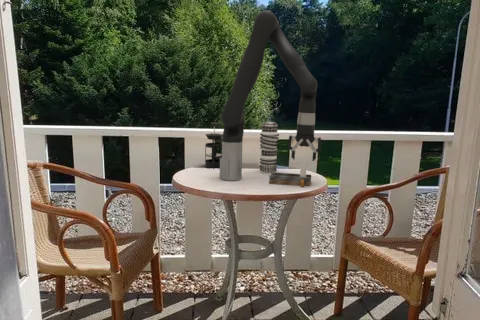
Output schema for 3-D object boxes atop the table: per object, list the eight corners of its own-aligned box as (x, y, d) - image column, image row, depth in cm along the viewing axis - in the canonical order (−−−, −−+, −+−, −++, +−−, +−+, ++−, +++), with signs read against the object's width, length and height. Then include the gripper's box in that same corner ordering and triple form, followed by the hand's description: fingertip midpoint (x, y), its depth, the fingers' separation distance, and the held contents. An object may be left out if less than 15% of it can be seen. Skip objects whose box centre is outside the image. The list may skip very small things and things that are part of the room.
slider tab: (296, 180, 184) (297, 164, 183) (297, 178, 189) (298, 162, 187) (308, 181, 183) (309, 165, 182) (308, 178, 188) (309, 163, 186)
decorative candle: (276, 175, 202) (279, 123, 197) (257, 174, 203) (259, 122, 198) (278, 171, 210) (280, 121, 206) (259, 170, 212) (261, 120, 207)
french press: (202, 168, 213) (203, 123, 208) (204, 164, 222) (204, 121, 218) (225, 169, 213) (226, 123, 208) (226, 165, 222) (227, 122, 218)
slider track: (268, 184, 183) (268, 176, 182) (271, 179, 193) (271, 171, 193) (310, 187, 179) (310, 179, 179) (310, 181, 190) (311, 174, 189)
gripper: (322, 123, 184) (319, 159, 187) (290, 121, 186) (287, 157, 189) (322, 125, 176) (319, 162, 179) (288, 122, 179) (286, 160, 182)
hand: (303, 159), depth 184 cm, fingers open, 8 cm apart
